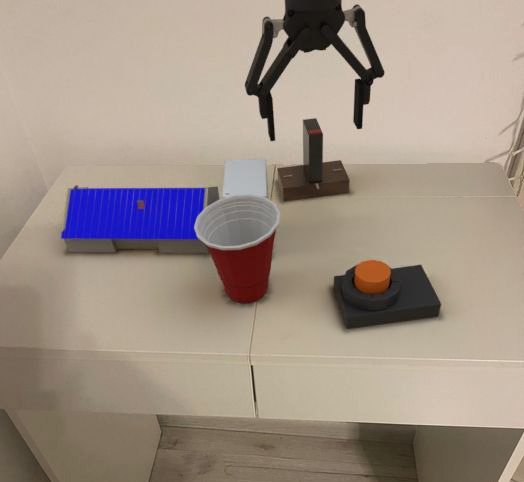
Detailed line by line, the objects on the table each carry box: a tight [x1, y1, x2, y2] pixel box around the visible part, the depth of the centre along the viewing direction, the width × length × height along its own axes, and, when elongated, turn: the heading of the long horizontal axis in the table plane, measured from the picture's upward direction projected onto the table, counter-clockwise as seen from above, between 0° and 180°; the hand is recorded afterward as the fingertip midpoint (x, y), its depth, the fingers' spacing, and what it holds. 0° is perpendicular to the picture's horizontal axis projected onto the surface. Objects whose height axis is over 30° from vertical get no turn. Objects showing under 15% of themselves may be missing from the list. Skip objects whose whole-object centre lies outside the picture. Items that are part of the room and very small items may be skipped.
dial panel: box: [276, 159, 351, 202], centre depth 92 cm, size 11×10×3 cm
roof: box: [60, 185, 221, 254], centre depth 86 cm, size 22×14×7 cm, turn 84°
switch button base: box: [333, 264, 442, 329], centre depth 72 cm, size 12×8×4 cm, turn 97°
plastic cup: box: [194, 194, 281, 304], centre depth 72 cm, size 11×11×12 cm
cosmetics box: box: [221, 157, 270, 200], centre depth 81 cm, size 10×6×10 cm, turn 0°
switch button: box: [354, 259, 391, 294], centre depth 70 cm, size 4×4×2 cm
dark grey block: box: [302, 117, 324, 183], centre depth 89 cm, size 6×2×8 cm, turn 7°
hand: (314, 131), depth 86 cm, fingers open, 13 cm apart
